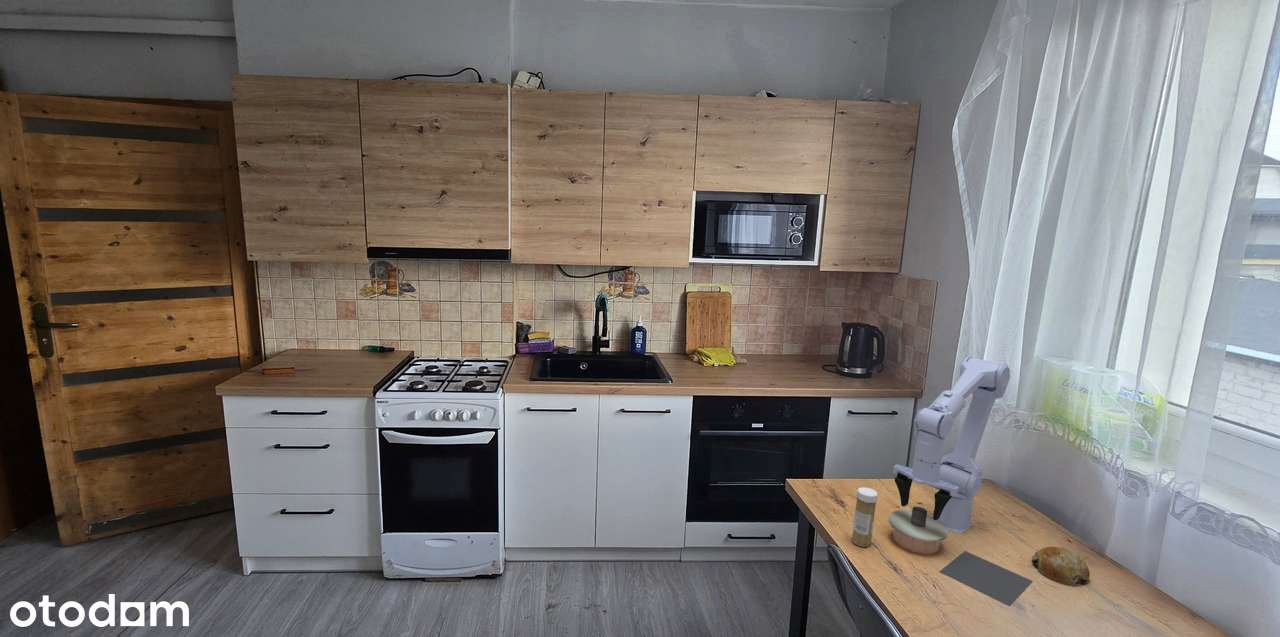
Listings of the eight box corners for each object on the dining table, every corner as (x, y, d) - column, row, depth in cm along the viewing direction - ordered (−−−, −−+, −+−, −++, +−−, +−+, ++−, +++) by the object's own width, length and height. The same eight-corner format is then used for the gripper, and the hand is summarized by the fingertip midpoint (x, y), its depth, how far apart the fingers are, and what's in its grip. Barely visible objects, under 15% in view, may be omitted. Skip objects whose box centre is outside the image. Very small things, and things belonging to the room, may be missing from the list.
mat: (964, 552, 136) (965, 550, 136) (1032, 583, 125) (1032, 581, 125) (938, 573, 127) (939, 571, 127) (1009, 608, 116) (1009, 606, 116)
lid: (904, 507, 147) (906, 492, 146) (957, 530, 137) (959, 513, 136) (878, 522, 139) (880, 506, 138) (932, 547, 129) (935, 530, 128)
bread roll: (1059, 603, 124) (1083, 582, 120) (1018, 562, 132) (1039, 541, 128) (1083, 591, 129) (1106, 571, 125) (1042, 552, 136) (1063, 531, 132)
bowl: (904, 527, 146) (907, 511, 145) (945, 546, 138) (948, 529, 137) (885, 540, 139) (887, 523, 139) (926, 560, 132) (929, 542, 131)
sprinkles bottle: (875, 544, 137) (882, 492, 135) (863, 550, 135) (870, 497, 132) (858, 535, 141) (865, 484, 139) (847, 540, 138) (853, 489, 136)
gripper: (889, 452, 138) (882, 504, 140) (952, 474, 127) (943, 530, 129) (903, 445, 142) (896, 496, 145) (965, 466, 131) (957, 521, 134)
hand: (920, 511), depth 137 cm, fingers open, 7 cm apart
